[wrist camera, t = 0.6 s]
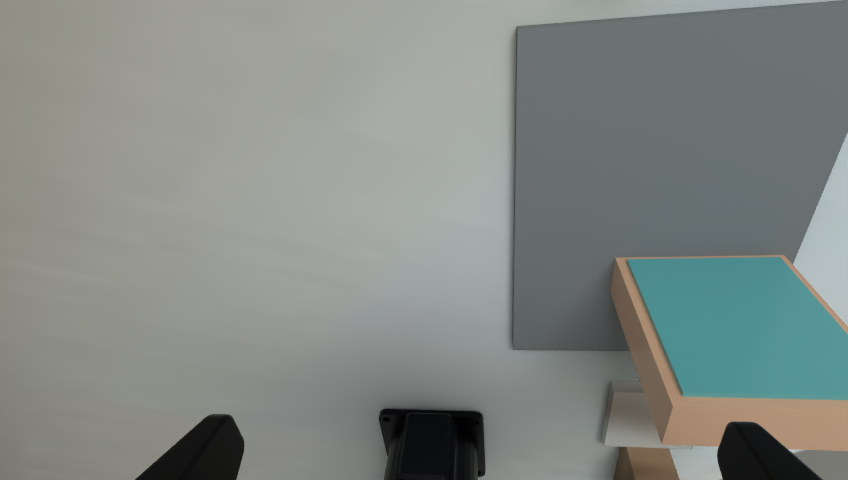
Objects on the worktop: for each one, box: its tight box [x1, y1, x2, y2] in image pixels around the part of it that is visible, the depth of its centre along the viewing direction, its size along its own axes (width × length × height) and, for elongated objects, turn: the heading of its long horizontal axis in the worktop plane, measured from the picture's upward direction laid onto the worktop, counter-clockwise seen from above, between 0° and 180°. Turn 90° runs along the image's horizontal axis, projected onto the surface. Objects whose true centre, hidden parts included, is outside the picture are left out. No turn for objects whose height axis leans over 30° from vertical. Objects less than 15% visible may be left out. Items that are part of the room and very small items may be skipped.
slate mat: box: [513, 0, 848, 351], centre depth 21 cm, size 16×12×1 cm
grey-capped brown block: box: [601, 381, 693, 480], centre depth 28 cm, size 10×5×4 cm, turn 5°
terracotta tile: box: [610, 255, 848, 451], centre depth 18 cm, size 2×7×8 cm, turn 95°
